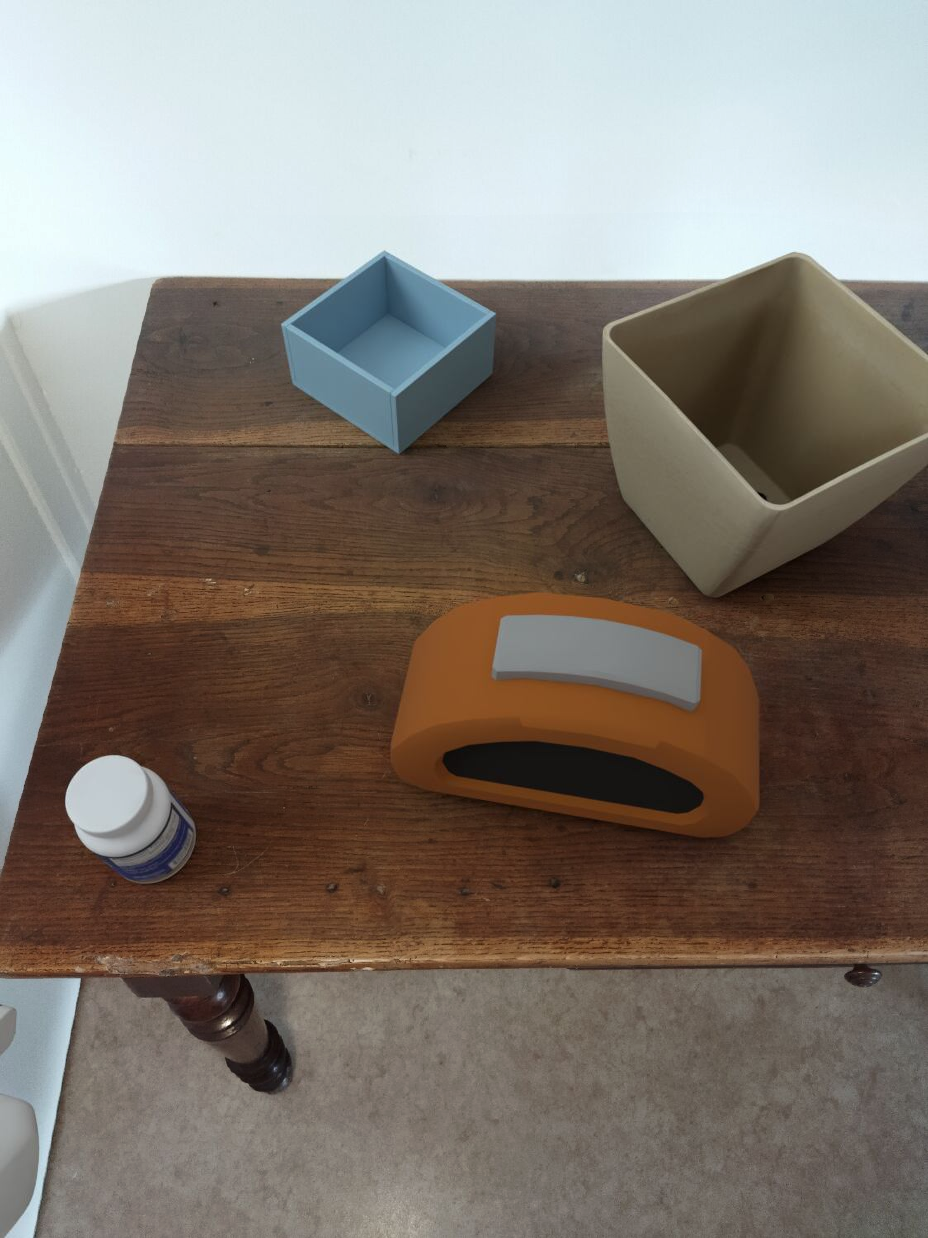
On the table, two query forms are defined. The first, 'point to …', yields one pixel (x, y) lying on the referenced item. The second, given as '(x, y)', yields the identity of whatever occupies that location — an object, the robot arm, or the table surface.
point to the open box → (390, 349)
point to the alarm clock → (582, 714)
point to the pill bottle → (130, 819)
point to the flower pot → (760, 417)
